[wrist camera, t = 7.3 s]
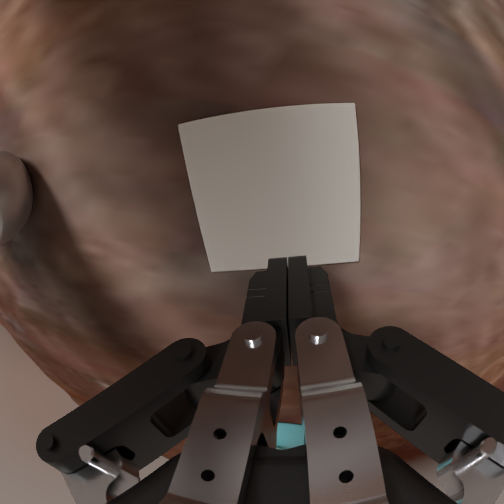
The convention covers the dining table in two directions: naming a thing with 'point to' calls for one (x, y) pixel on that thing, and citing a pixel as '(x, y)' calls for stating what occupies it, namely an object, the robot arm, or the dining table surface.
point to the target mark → (289, 435)
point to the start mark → (276, 184)
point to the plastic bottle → (13, 196)
